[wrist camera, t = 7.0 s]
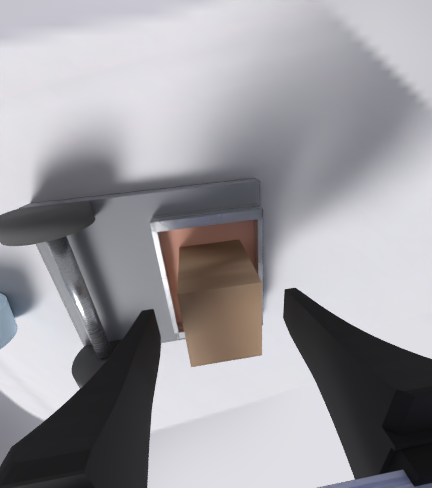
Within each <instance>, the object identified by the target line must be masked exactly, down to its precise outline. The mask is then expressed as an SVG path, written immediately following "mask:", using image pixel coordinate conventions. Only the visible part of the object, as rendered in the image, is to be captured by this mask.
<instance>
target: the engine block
mask: <svg viewBox="0 0 432 488" xmlns="http://www.w3.org/2000/svg"><path fill="white" fill-rule="evenodd" d="M177 296H178V301H179V306H180V312H181V317H182V322H183V327H184V332H185V337H186V342H187V348H188V353H189V358H190V363H191V367H195V366H201V365H207V364H212V363H218V362H224V361H230V360H236V359H242V358H248V357H254V356H260V355H262V281H261V279H260V278H259V276H258V274H257V272H256V270H255V268H254V266H253V264H252V262H251V260H250V259H249V257H248V255H247V253H246V251H245V249H244V247H243V245H242V243H241V241H240V240H239V239H238V240H231V241H223V242H215V243H208V244H200V245H192V246H184V247H179V265H178V287H177Z"/></svg>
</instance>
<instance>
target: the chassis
mask: <svg viewBox="0 0 432 488" xmlns="http://www.w3.org/2000/svg"><path fill="white" fill-rule="evenodd" d="M238 239H239V240H240V241H241V243H242V245H243V247H244V249H245V251H246V253H247V255H248V257H249V259H250V260H251V262H252V264H253V266H254V268H255V270H256V272H257V274H258V276H259V278H260V279H261V281H262V325H263V209H262V208H261V207H260V181H259V180H258V179H256V178H252V179H243V180H235V181H226V182H217V183H208V184H199V185H190V186H181V187H172V188H164V189H155V190H146V191H137V192H128V193H119V194H110V195H101V196H93V197H84V198H75V199H66V200H57V201H48V202H39V203H31V204H27V205H25V206H23V207H21V208H19V209H17V210H13V211H10V212H7V213H5V214H2V215H0V242H1V244H3V245H6V246H23V245H31V244H36V246H37V248H38V250H39V252H40V254H41V256H42V258H43V260H44V263H45V265H46V267H47V269H48V271H49V273H50V275H51V277H52V280H53V282H54V284H55V286H56V288H57V290H58V292H59V294H60V297H61V299H62V301H63V303H64V305H65V307H66V309H67V311H68V313H69V316H70V318H71V320H72V322H73V324H74V326H75V328H76V330H77V333H78V335H79V337H80V339H81V341H82V343H83V345H84V348H83V349H82V350H81V351H80V352H79V353H78V355H77V356H76V358H75V360H74V362H73V365H72V375H73V377H74V379H75V381H76V382H77V384H78V386H79V388H80V389H81V388H82V387H83V386H84V385H85V384H86V383H87V382H88V381H89V380H90V379H91V377H92V376H93V375H94V374H95V373H96V372H97V371H98V370H99V369H100V367H101V366H102V365H103V364H104V363H105V361H106V360H107V359H108V358H109V357H110V355H111V354H112V353H113V351H114V350H115V349H116V347H117V346H118V345H119V343H120V342H121V341H122V339H123V338H124V336H125V335H126V334H127V332H128V331H129V329H130V328H131V326H132V325H133V323H134V322H135V320H136V319H137V317H138V315H139V314H140V312H141V311H142V310H148V309H154V312H155V316H156V320H157V324H158V327H159V331H160V335H161V343H164V342H170V341H176V340H182V339H186V337H185V332H184V327H183V322H182V317H181V312H180V306H179V301H178V296H177V287H178V265H179V247H184V246H192V245H200V244H208V243H215V242H223V241H231V240H238Z"/></svg>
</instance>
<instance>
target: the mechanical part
mask: <svg viewBox="0 0 432 488" xmlns="http://www.w3.org/2000/svg"><path fill="white" fill-rule="evenodd" d="M16 332H17V324H16V321H15V319H14V316H13V314H12V311H11V308H10V306H9V303H8V301H7V298H6V296H5V295H4V294H2V293H0V349H1V348H3V347H4V346H5V345H6V344H7V343H9V342H10V341H11V339H12V338H13V337H14V336H15V334H16Z"/></svg>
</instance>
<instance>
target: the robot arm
mask: <svg viewBox="0 0 432 488" xmlns="http://www.w3.org/2000/svg"><path fill="white" fill-rule="evenodd" d="M283 318H284V321H285V323H286V326H287V328H288V331H289V333H290V335H291V337H292V339H293V341H294V343H295V344H296V346H297V348H298V350H299V352H300V353H301V355H302V357H303V359H304V361H305V362H306V364H307V366H308V368H309V370H310V371H311V373H312V375H313V377H314V379H315V381H316V383H317V386H318V388H319V390H320V392H321V395H322V397H323V399H324V401H325V404H326V406H327V409H328V411H329V413H330V416H331V418H332V420H333V423H334V425H335V428H336V430H337V433H338V435H339V438H340V440H341V443H342V446H343V448H344V450H345V453H346V456H347V459H348V461H349V464H350V467H351V470H352V472H353V475H354V478H355V480H351V481H346V482H342V483H337V484H332V485H328V486H323V487H318V488H432V359H430V358H426V357H423V356H421V355H418V354H415V353H413V352H410V351H407V350H405V349H402V348H399V347H397V346H395V345H392V344H390V343H387V342H385V341H383V340H381V339H379V338H376V337H374V336H372V335H370V334H368V333H366V332H364V331H362V330H360V329H358V328H356V327H355V326H353V325H351V324H349V323H347V322H346V321H344V320H342V319H341V318H339V317H337V316H336V315H334V314H333V313H331V312H329V311H328V310H326V309H325V308H323V307H322V306H320V305H319V304H318V303H316V302H315V301H313V300H312V299H311V298H309V297H308V296H306V295H305V294H304V293H302V292H301V291H299V290H298V289H296V288H291V289H285V294H284V314H283ZM160 348H161V335H160V331H159V327H158V324H157V320H156V316H155V312H154V309H148V310H142V311H141V312H140V314H139V315H138V317H137V319H136V320H135V322H134V323H133V325H132V326H131V328H130V329H129V331H128V332H127V334H126V335H125V336H124V338H123V339H122V341H121V342H120V343H119V345H118V346H117V347H116V349H115V350H114V351H113V353H112V354H111V355H110V357H109V358H108V359H107V360H106V361H105V363H104V364H103V365H102V366H101V367H100V369H99V370H98V371H97V372H96V373H95V374H94V375H93V376H92V377H91V379H90V380H89V381H88V382H87V383H86V384H85V385H84V386H83V387H82V388H81V389H80V390H79V391H78V392H77V393H76V394H74V395H73V396H72V397H71V398H70V399H69V400H68V401H67V402H66V403H65V404H64V405H63V406H62V407H60V408H59V409H58V410H57V411H56V412H55V413H54V414H52V415H51V416H50V417H49V418H48V419H47V420H45V421H44V422H43V423H42V424H41V425H39V426H38V427H37V428H35V429H34V430H33V431H32V432H30V433H29V434H28V435H27V436H25V437H24V438H23V439H21V440H20V441H19V442H18V443H16V444H15V445H14V446H12V447H11V449H10V451H9V452H8V454H7V456H6V457H5V459H4V461H3V462H2V464H1V466H0V488H147V479H148V477H147V476H148V457H149V455H148V454H149V440H150V439H149V438H150V425H151V412H152V403H153V396H154V390H155V384H156V378H157V372H158V366H159V360H160Z"/></svg>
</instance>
